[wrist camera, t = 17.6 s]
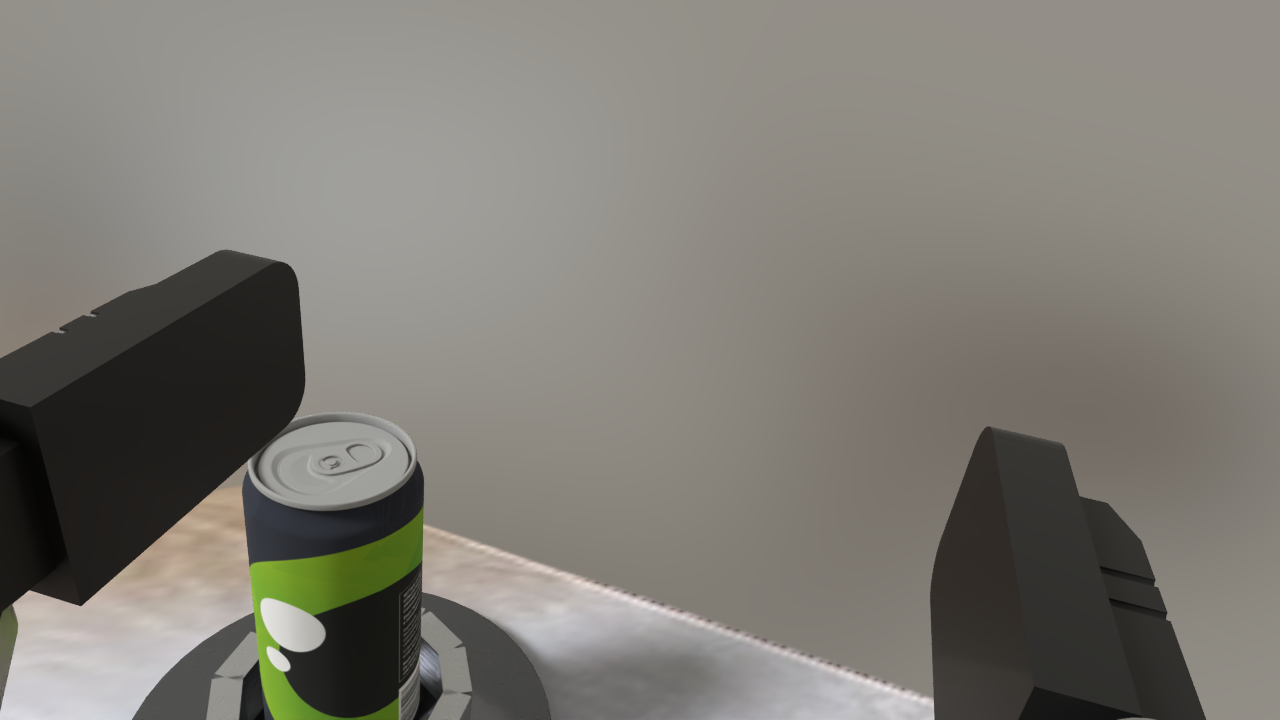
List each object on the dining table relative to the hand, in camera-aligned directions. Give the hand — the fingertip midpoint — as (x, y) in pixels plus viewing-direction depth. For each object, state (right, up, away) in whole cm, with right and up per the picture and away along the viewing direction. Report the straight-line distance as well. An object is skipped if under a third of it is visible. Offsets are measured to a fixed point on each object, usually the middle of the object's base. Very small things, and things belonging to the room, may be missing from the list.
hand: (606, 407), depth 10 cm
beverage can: (-12, -16, +29) cm, 35 cm away
